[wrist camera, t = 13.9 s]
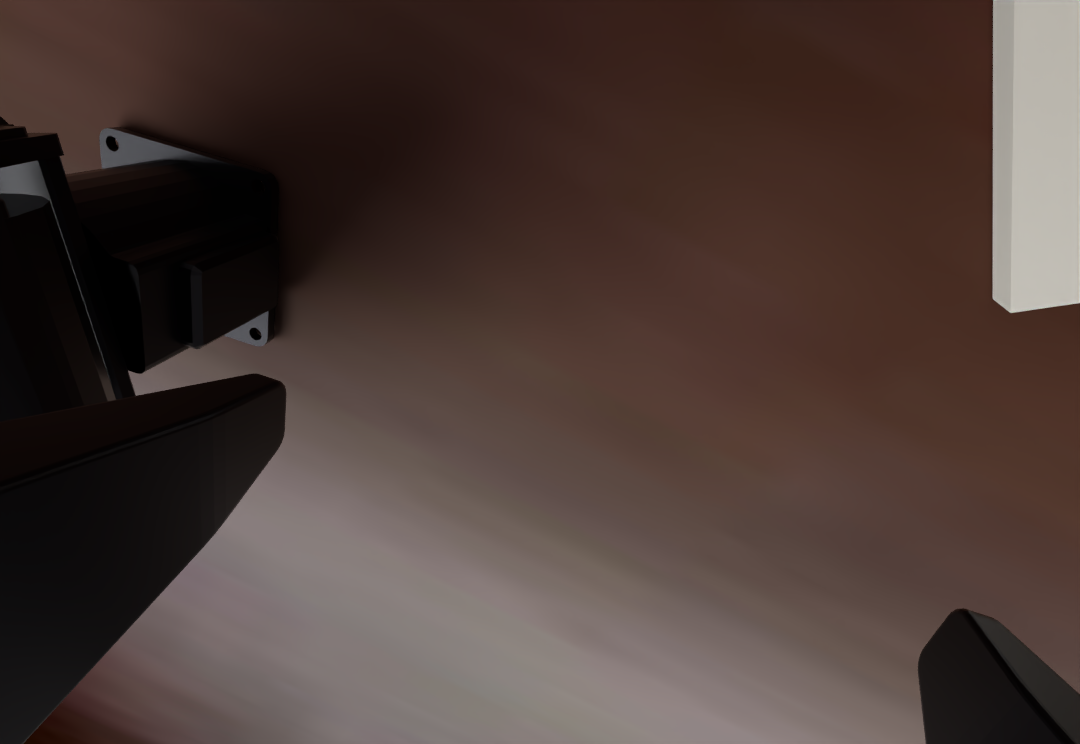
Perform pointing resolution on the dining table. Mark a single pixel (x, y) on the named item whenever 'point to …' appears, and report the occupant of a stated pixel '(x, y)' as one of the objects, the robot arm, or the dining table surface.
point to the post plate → (1036, 153)
